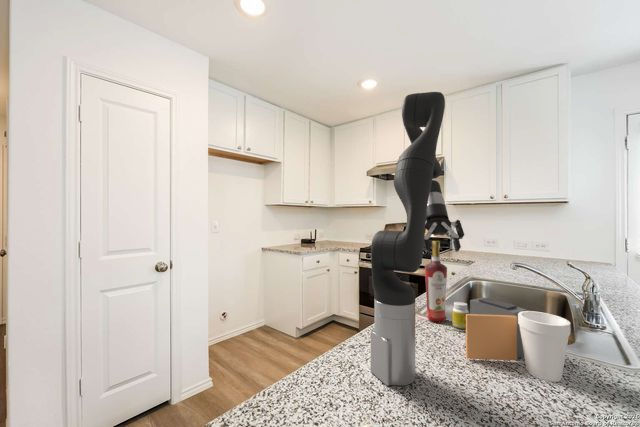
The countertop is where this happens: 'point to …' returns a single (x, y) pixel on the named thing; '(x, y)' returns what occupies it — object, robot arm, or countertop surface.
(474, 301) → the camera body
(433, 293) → the liquor
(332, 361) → the countertop surface
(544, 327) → the foam cup
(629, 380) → the countertop surface
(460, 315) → the supplement bottle
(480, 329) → the side door
